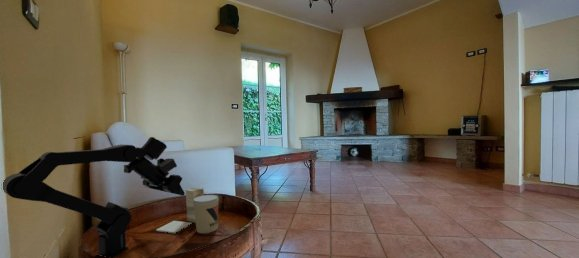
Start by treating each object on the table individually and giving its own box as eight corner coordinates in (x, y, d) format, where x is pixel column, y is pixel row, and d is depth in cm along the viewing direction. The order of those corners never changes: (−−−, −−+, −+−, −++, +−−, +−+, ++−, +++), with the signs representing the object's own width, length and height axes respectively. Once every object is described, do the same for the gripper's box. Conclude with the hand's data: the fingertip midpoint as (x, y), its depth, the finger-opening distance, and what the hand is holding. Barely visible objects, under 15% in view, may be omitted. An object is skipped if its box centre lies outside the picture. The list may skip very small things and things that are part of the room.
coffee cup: (212, 235, 91) (210, 202, 91) (189, 233, 93) (187, 201, 92) (224, 224, 100) (222, 194, 100) (202, 223, 102) (201, 194, 102)
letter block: (194, 222, 103) (193, 191, 103) (187, 220, 106) (185, 189, 106) (205, 218, 107) (203, 188, 107) (197, 216, 110) (196, 187, 110)
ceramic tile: (174, 233, 93) (174, 232, 93) (156, 231, 96) (156, 229, 96) (191, 224, 102) (191, 222, 102) (173, 221, 105) (173, 220, 105)
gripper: (176, 153, 90) (203, 178, 99) (149, 151, 100) (176, 174, 110) (155, 179, 83) (186, 203, 93) (128, 174, 94) (159, 196, 103)
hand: (177, 193), depth 100 cm, fingers open, 9 cm apart
